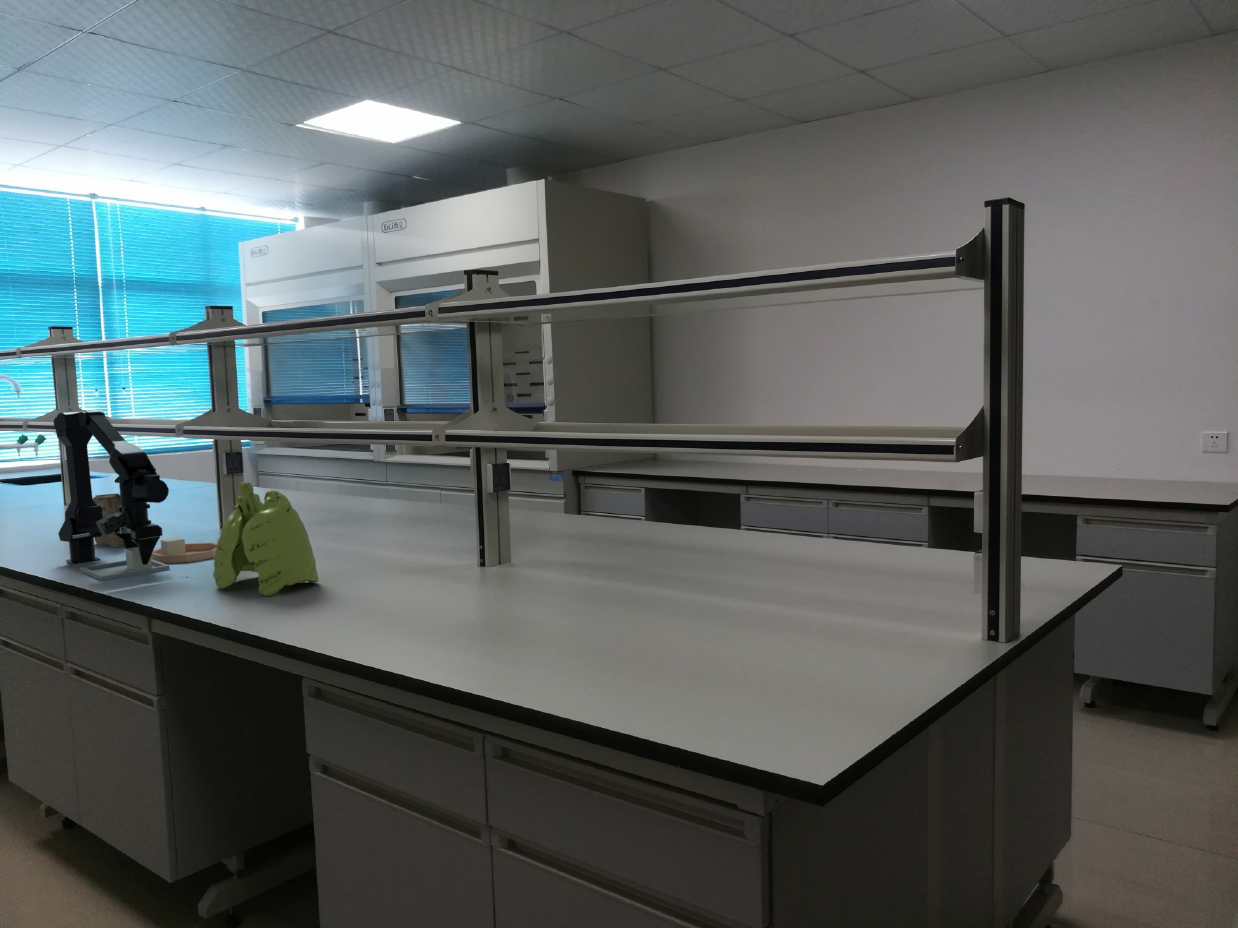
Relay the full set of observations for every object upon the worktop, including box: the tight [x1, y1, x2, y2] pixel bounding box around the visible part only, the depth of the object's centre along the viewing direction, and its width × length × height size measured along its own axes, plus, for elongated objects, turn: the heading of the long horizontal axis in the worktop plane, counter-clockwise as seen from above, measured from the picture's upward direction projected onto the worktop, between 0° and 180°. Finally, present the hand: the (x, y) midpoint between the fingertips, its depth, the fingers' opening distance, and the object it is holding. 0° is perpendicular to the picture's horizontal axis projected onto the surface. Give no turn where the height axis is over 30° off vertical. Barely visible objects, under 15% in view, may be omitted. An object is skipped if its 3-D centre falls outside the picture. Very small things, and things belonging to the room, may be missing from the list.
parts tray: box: [79, 559, 171, 582], centre depth 222 cm, size 17×15×2 cm
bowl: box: [151, 542, 217, 564], centre depth 238 cm, size 16×16×2 cm
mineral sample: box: [92, 493, 125, 549], centre depth 260 cm, size 17×4×15 cm, turn 55°
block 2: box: [160, 536, 186, 555], centre depth 235 cm, size 4×4×5 cm
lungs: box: [212, 481, 319, 597], centre depth 202 cm, size 25×16×24 cm, turn 59°
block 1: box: [124, 547, 152, 571], centre depth 224 cm, size 4×4×5 cm
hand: (138, 562), depth 225 cm, fingers open, 8 cm apart
